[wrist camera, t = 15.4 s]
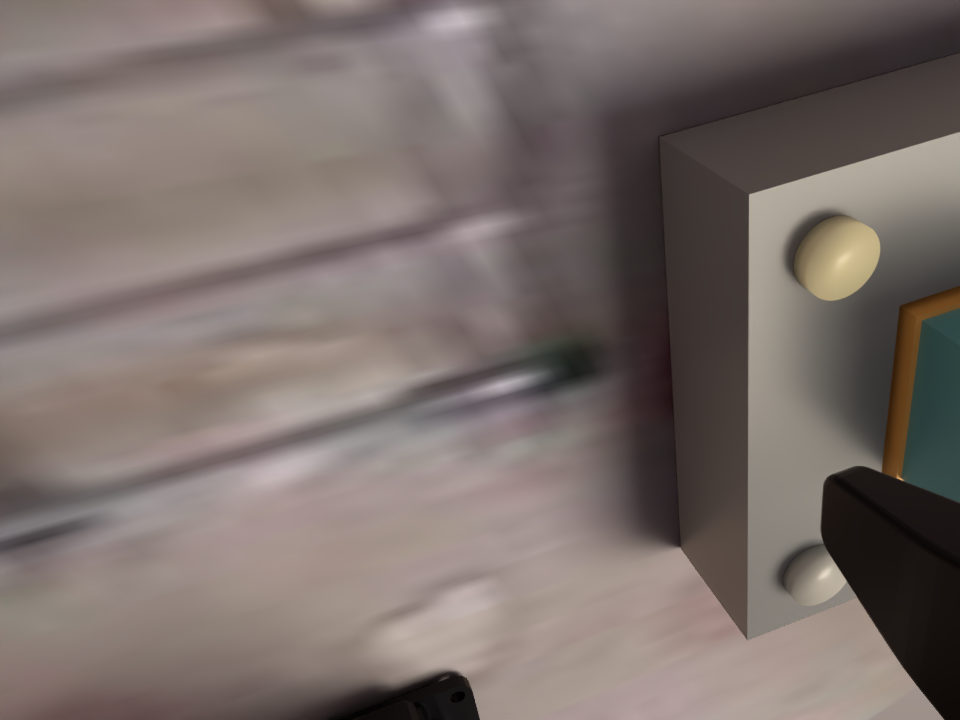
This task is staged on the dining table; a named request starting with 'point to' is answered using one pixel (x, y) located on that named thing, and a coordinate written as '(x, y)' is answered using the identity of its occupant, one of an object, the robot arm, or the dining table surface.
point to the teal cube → (936, 409)
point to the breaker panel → (797, 316)
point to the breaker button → (909, 372)
